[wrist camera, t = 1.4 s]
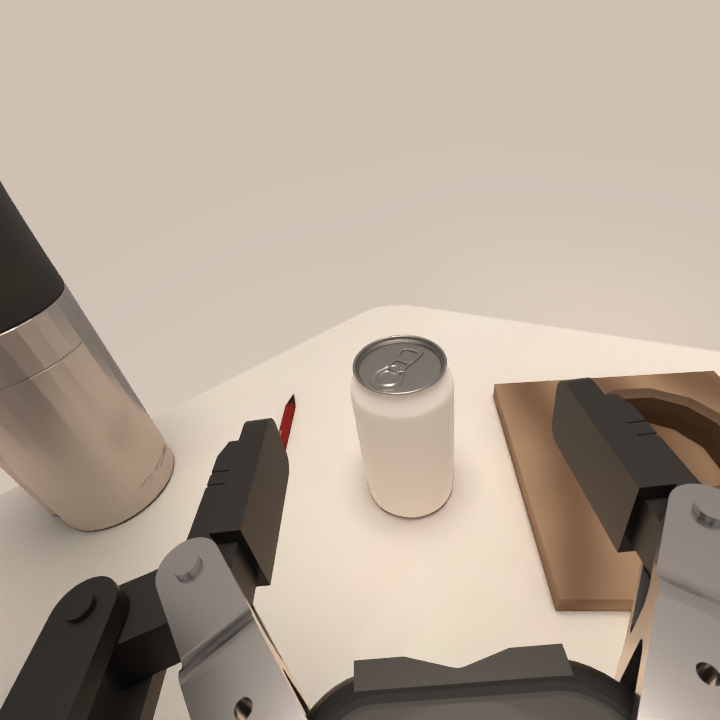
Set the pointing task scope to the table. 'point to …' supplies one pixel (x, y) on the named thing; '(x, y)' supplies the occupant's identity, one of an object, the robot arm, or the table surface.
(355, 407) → the can
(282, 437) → the pencil
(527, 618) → the table surface
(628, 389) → the socket board
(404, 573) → the table surface
